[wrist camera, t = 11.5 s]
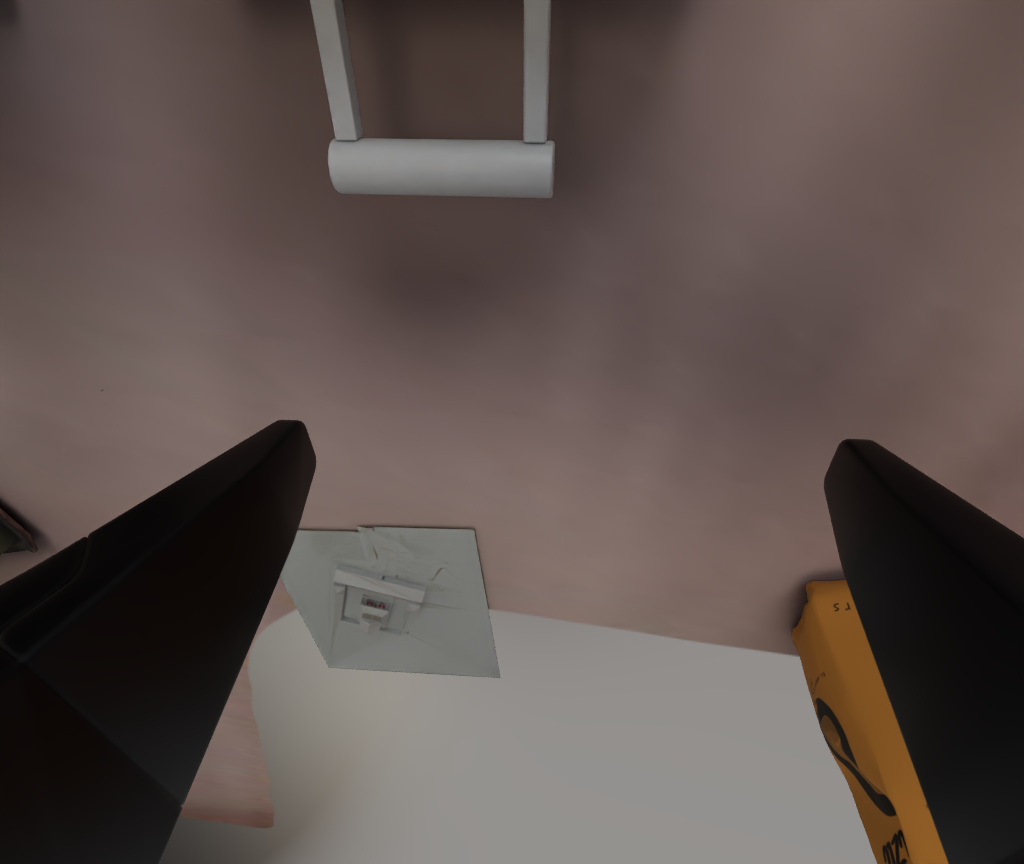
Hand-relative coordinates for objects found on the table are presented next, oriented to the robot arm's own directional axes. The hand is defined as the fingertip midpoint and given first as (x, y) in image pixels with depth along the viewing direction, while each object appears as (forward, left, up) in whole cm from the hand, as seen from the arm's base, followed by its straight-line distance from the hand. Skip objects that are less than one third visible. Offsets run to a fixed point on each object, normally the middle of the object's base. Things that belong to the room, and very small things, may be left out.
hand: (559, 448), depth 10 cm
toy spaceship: (-21, +13, -13) cm, 28 cm away
